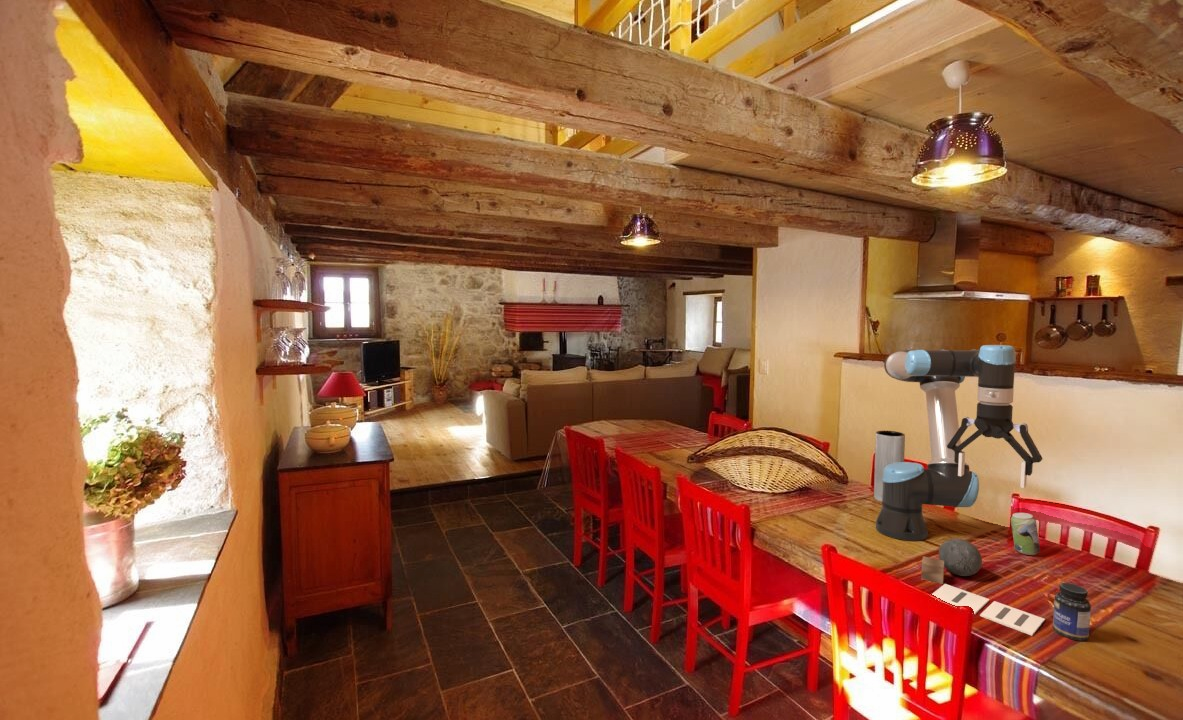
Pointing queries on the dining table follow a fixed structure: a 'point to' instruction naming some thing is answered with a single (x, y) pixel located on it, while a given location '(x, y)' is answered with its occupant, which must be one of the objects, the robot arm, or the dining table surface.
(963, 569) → the decorative ball
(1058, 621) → the pill bottle
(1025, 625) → the coaster
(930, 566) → the walnut block
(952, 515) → the dining table surface
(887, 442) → the vase
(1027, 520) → the beverage can
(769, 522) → the dining table surface
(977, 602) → the coaster
